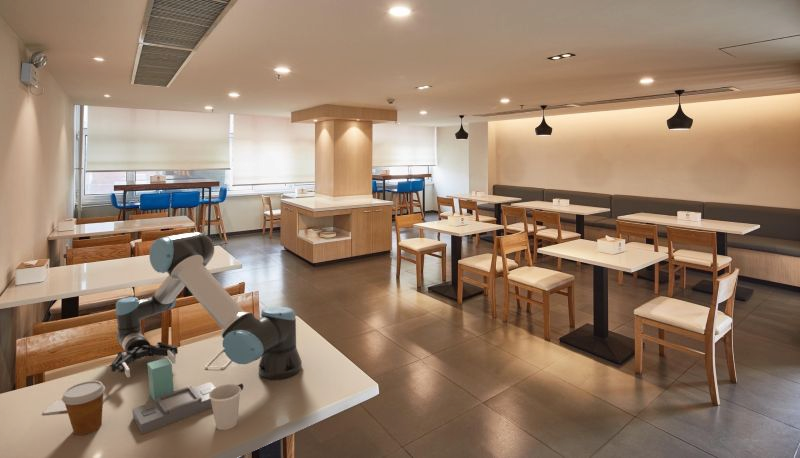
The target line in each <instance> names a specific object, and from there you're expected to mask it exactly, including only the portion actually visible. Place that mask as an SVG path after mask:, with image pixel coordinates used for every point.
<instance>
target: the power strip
mask: <svg viewBox="0 0 800 458" xmlns="http://www.w3.org/2000/svg"><path fill="white" fill-rule="evenodd" d="M237 386H239V387H240V388H241V389H242V388H243V387H244V383H239V384H237ZM215 388H217V387H216V386H215V385H214V384H213V383H212V382H211V381H208V382H206V383H203V384H201V385H198V386H194V387H193V386H186V387H183V388H180V389H176V390H174V392H171V393H168V394H165V395H162V396H159V398H156V401H154V400H153V401H151V402H148V403H146V404H142V405H140V406H137V407H133V408H131V409H132V418H133V420H134V422H135V424H136V426H137V428H138V429H139V431H140V433H141V435H145V434H147V433H149V432H152V431H154V430H157V429H159V428H162V427H164V426H167V425H169V424H172V423H175V422H177V421H180V420H183V419H186V418H188V417H190V416H193V415H196V414H198V413H200V412H203V411H206V410H208V409H211V408H212V404H211V399H210V398H209V394H210V392H211V391H212V390H213V389H215Z"/></svg>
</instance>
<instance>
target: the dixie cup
mask: <svg viewBox="0 0 800 458" xmlns="http://www.w3.org/2000/svg"><path fill="white" fill-rule="evenodd" d="M237 385H238V384H237ZM237 385H236V384H234V383H233V384H230V383H229V384H222V385H219V386H217V387H216V388H215V389H213V390H212V391H211V392H210V394H209V398H210V399H211V404H212V407H211V408H212V412H213V413H212V414H213V418H214V423H215V427H216V429H218V430H219V431H227V430H231V429H232V428H234V427H235V426H237V424H238V418H239V411H240V410H239V407H240V399H241V398H240V396H241V391H242V387H241V388H240V387H239V386H237Z"/></svg>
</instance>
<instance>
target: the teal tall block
mask: <svg viewBox="0 0 800 458" xmlns="http://www.w3.org/2000/svg"><path fill="white" fill-rule="evenodd" d="M172 365H173V363H172V362H171V361H170V360H169V359H168V357H164V358H161V359H158V360H154V361H150V362H147V374H148V375H147V376H148V385H149V396H150V397H151V399H152V401H153V402H154V401H156V398H159V396H162V395H165V394H168V393H171V392H174V391H175V389H174V378H173V377H174V376H173V366H172Z"/></svg>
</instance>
